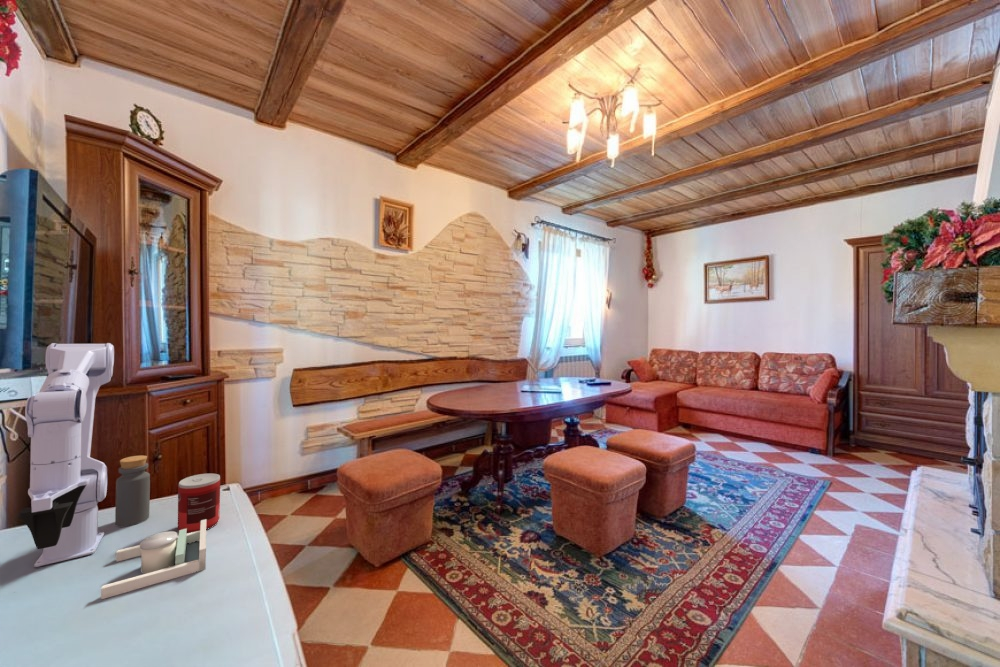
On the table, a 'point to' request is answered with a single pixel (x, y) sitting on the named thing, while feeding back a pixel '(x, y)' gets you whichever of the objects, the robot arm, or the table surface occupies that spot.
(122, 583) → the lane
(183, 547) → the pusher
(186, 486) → the canned food
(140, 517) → the bottle
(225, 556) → the table surface
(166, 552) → the jar
